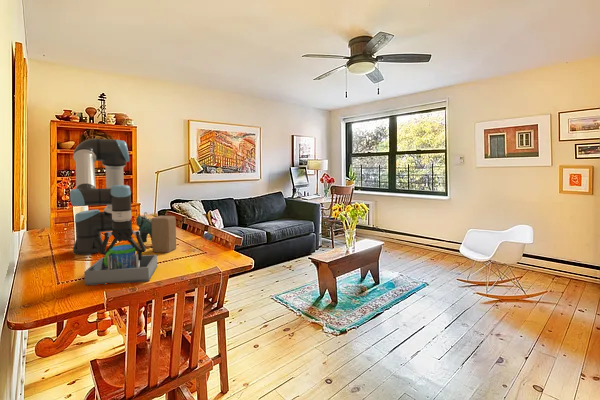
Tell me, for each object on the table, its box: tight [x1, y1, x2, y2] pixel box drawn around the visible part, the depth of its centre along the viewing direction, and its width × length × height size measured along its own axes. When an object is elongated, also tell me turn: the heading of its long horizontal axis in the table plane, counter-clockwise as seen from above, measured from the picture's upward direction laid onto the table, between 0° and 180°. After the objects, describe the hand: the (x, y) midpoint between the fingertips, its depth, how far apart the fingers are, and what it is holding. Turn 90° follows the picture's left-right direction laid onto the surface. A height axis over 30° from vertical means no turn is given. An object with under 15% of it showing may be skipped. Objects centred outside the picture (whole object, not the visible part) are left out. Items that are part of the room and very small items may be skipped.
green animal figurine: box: [135, 212, 152, 244], centre depth 195 cm, size 20×6×20 cm, turn 55°
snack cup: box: [103, 243, 137, 269], centre depth 139 cm, size 16×10×10 cm
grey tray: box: [83, 254, 158, 287], centre depth 139 cm, size 24×20×6 cm
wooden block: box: [150, 215, 177, 254], centre depth 179 cm, size 10×10×20 cm
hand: (124, 268), depth 139 cm, fingers closed on snack cup, 11 cm apart
